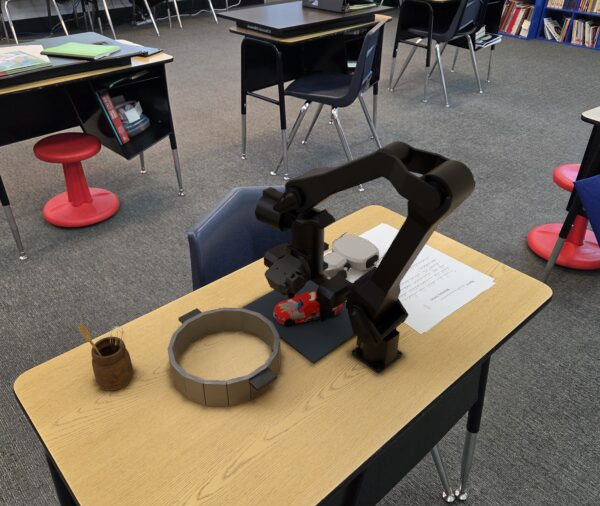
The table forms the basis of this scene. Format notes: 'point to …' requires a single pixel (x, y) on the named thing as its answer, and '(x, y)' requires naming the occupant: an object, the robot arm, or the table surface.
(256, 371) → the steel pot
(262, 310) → the rubber mat
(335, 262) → the robot toy
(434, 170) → the robot arm
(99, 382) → the utensil holder
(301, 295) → the race car
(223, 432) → the table surface
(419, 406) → the table surface
